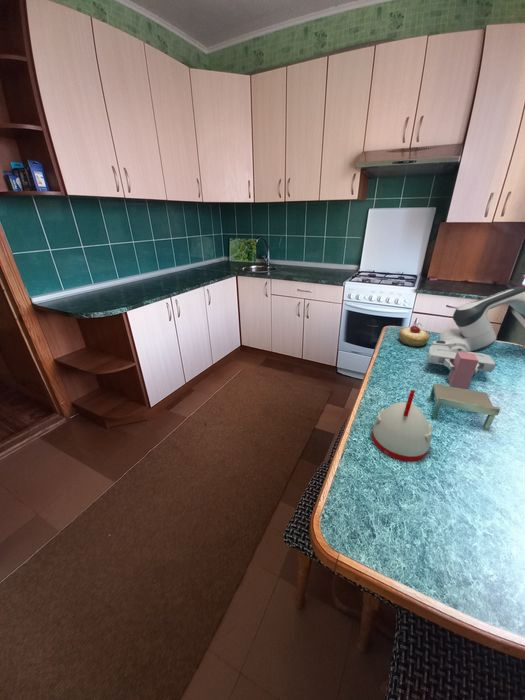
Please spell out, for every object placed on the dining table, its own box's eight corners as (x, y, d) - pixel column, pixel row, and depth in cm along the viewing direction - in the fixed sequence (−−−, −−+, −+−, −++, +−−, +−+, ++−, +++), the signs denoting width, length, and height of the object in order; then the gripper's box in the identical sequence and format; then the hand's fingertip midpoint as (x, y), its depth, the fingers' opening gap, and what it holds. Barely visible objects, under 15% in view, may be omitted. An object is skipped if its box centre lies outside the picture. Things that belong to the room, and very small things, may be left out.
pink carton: (463, 380, 102) (474, 353, 97) (467, 388, 98) (478, 360, 92) (447, 378, 103) (457, 351, 98) (450, 386, 99) (460, 358, 94)
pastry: (392, 341, 131) (395, 322, 127) (407, 334, 137) (411, 317, 133) (417, 351, 122) (422, 331, 118) (432, 343, 128) (437, 325, 124)
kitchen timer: (431, 434, 79) (446, 389, 72) (424, 470, 69) (441, 421, 62) (378, 416, 86) (387, 374, 79) (365, 446, 76) (374, 400, 69)
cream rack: (480, 408, 88) (489, 387, 85) (489, 432, 79) (500, 409, 76) (428, 398, 93) (435, 377, 89) (432, 420, 84) (439, 398, 80)
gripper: (486, 364, 106) (497, 383, 95) (424, 354, 113) (427, 372, 102) (492, 348, 103) (504, 367, 92) (428, 340, 110) (431, 356, 99)
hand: (463, 369), depth 97 cm, fingers closed on pink carton, 5 cm apart
